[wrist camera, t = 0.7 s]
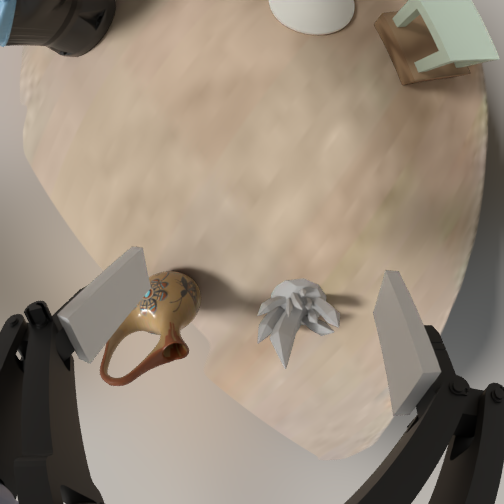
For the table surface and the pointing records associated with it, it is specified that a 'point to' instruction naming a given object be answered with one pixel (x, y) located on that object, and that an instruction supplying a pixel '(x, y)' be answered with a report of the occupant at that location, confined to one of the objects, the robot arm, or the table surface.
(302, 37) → the table surface
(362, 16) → the table surface
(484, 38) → the stool
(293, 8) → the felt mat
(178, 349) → the ceramic vessel
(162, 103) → the table surface
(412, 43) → the walnut box
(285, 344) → the crystal
